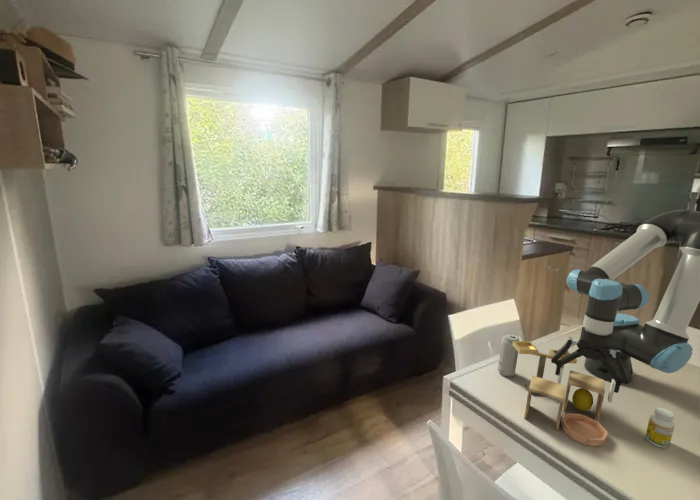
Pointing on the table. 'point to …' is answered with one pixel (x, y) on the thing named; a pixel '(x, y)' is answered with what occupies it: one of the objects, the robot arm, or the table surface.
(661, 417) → the supplement bottle
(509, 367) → the energy drink can
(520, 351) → the balance
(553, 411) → the table surface
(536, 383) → the oak cover
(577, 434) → the saucer
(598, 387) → the oak cover
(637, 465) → the table surface
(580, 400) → the lemon
